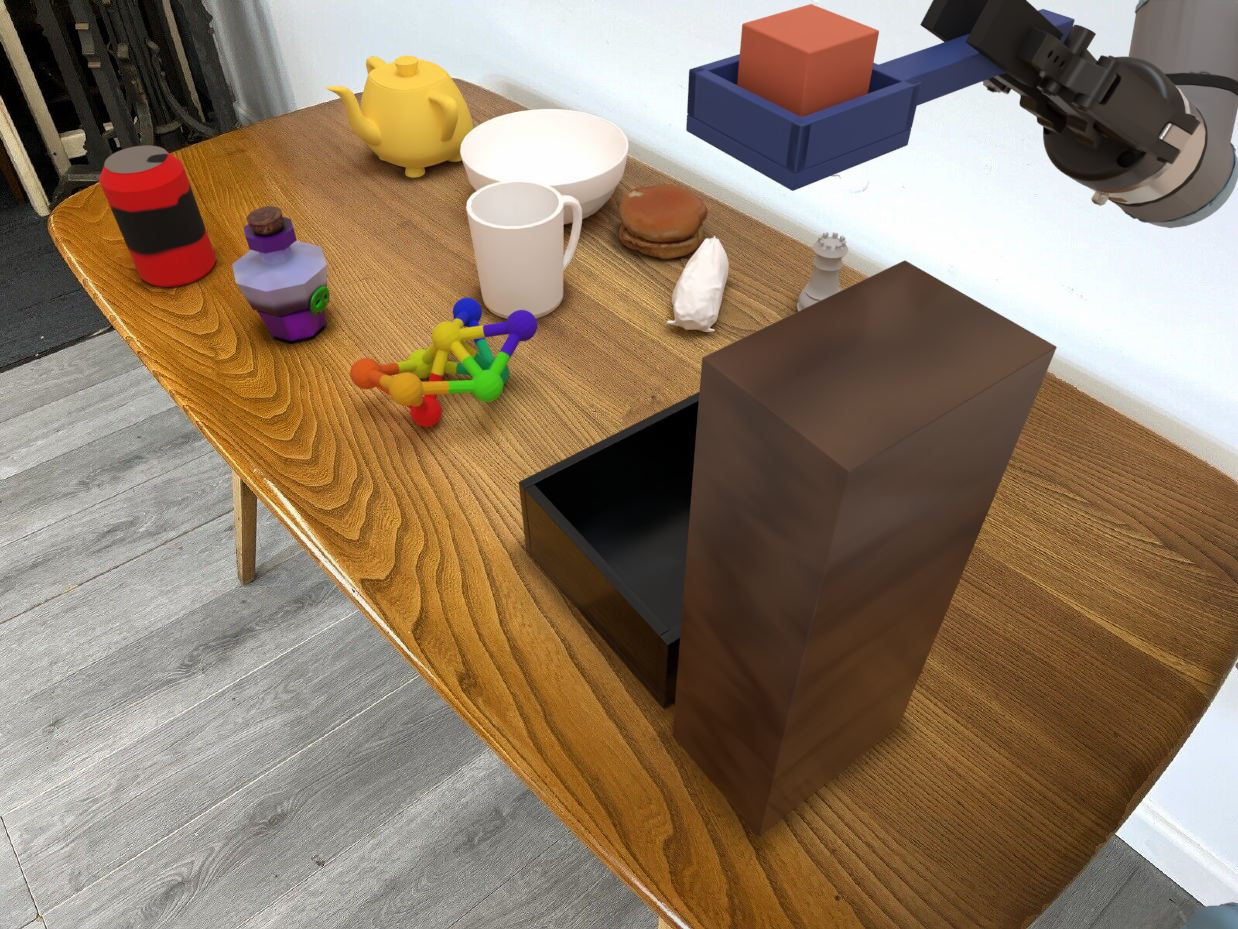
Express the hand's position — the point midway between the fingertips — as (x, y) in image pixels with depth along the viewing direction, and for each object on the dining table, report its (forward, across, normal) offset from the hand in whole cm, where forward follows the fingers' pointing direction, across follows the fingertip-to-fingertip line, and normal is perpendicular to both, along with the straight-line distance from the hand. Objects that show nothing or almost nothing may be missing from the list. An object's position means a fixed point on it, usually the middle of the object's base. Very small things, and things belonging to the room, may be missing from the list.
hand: (964, 6), depth 43 cm
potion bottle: (+1, +49, -44) cm, 66 cm away
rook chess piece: (-36, +21, -23) cm, 48 cm away
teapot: (-20, +73, -32) cm, 82 cm away
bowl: (-27, +54, -28) cm, 67 cm away
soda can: (+6, +66, -47) cm, 81 cm away
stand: (-7, -10, -40) cm, 41 cm away
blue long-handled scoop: (+1, 0, -4) cm, 4 cm away
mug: (-18, +40, -34) cm, 55 cm away
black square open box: (-9, +4, -38) cm, 40 cm away
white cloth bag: (-28, +28, -28) cm, 48 cm away
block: (+7, 0, -8) cm, 11 cm away
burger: (-32, +41, -25) cm, 58 cm away
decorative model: (-6, +31, -41) cm, 51 cm away
